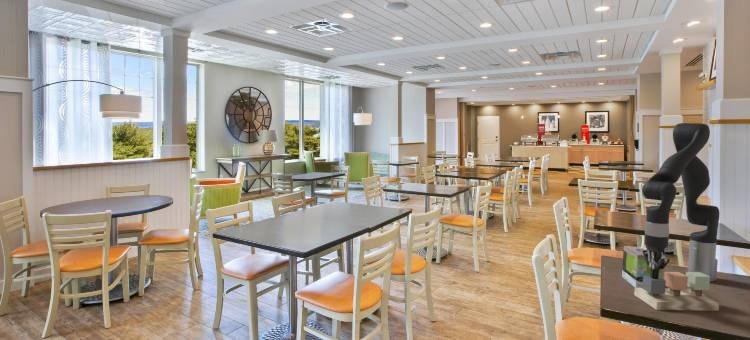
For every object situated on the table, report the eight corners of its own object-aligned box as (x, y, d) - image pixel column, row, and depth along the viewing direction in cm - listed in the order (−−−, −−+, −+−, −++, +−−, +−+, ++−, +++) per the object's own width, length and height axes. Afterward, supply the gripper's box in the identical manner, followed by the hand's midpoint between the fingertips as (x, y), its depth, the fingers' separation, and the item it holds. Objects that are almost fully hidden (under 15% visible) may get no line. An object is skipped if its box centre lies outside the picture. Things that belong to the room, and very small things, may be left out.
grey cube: (656, 288, 160) (656, 275, 159) (664, 293, 154) (665, 280, 154) (642, 288, 160) (643, 275, 159) (650, 293, 155) (651, 280, 154)
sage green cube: (698, 285, 159) (699, 272, 158) (709, 290, 153) (710, 276, 153) (685, 284, 159) (685, 271, 158) (694, 290, 154) (695, 276, 153)
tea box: (662, 290, 169) (664, 256, 167) (635, 289, 171) (636, 254, 169) (645, 278, 183) (647, 246, 182) (621, 276, 185) (622, 245, 184)
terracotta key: (677, 284, 159) (678, 271, 158) (687, 289, 154) (687, 276, 153) (663, 284, 159) (664, 271, 159) (672, 289, 154) (673, 276, 154)
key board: (690, 295, 163) (692, 278, 163) (718, 310, 150) (719, 292, 149) (634, 294, 165) (635, 278, 164) (656, 309, 151) (657, 291, 150)
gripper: (678, 238, 148) (676, 284, 150) (655, 229, 161) (653, 272, 163) (657, 238, 149) (655, 284, 150) (636, 229, 162) (634, 272, 163)
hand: (654, 278), depth 157 cm, fingers closed
